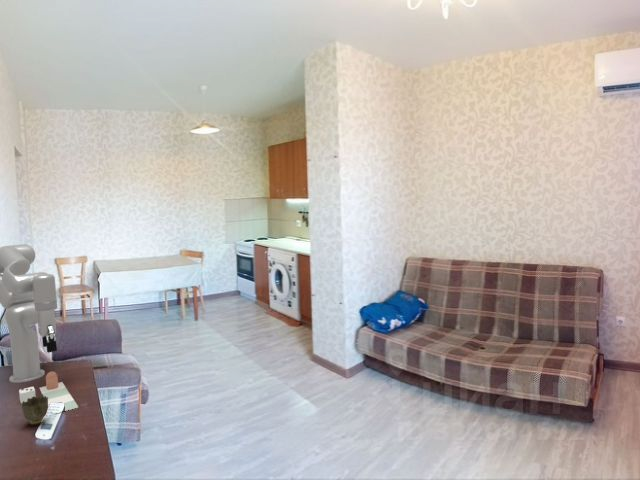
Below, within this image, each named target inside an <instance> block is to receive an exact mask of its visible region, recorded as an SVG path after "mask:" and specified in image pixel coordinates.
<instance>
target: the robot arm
mask: <svg viewBox="0 0 640 480" xmlns="http://www.w3.org/2000/svg"><path fill="white" fill-rule="evenodd" d="M35 259H36V251H35V249H34V248H33V247H32V246H31V245H29V244H15V245H4V246H0V306H2V308H4V309H6V310H5V314H4V316H5V321H6V324H7V325H6V326H7V329H8V334H9V339H10V340H9V341H10V343H9V344H10V350H11V351H10V352H11V362H12V364H11V365H12V373H13V374H12V375H10V376H9V379H8V380H9V382H10V383H12V384H13V383H14V384H15V383H16V384H17V383H19V384H21V383H28V382H31V381H35V380H37V379H40V378H42V377H43V376H45V374H46V372H45V370H44V369H41V362H40V352H39V350H40V349H39V339H38V338H39V337H38V335H40V336H41V339H42V347H43V348H46V352H47V353H53V352H57V351H58V349H57V340H56V335H57V322H56V314H55V310H58V300H57V299H58V298H57V290H56V289H57V288H56V277H55V275H54V274H51V273H47V272H44V271H43V272H41V271H39V272H32V273H28V272H29V270H30V269H31V265H32V263H33V262H35ZM35 324H36V325H38V327H37V328H38V329H37V330H38V333H37V332H36V330H34V329H32V328H31V326H32V325H35Z"/></svg>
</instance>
